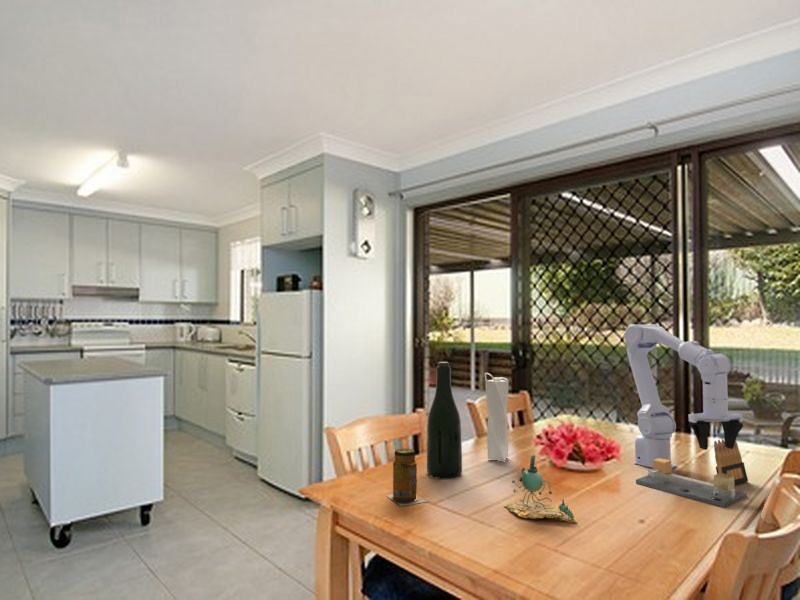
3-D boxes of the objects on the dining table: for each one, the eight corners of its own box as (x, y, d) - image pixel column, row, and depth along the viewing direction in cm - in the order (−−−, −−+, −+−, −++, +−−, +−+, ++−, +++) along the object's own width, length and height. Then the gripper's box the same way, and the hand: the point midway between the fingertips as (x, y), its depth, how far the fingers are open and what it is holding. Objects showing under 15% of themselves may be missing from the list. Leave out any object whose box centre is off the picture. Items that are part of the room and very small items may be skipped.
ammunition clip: (726, 487, 132) (716, 441, 134) (719, 486, 133) (709, 440, 136) (748, 481, 136) (738, 436, 139) (741, 480, 138) (731, 436, 140)
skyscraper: (482, 460, 158) (481, 373, 160) (487, 455, 165) (486, 371, 166) (507, 463, 155) (506, 374, 156) (511, 457, 162) (510, 372, 163)
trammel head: (647, 477, 135) (646, 462, 135) (660, 472, 139) (659, 458, 139) (658, 480, 132) (658, 464, 133) (671, 475, 136) (671, 460, 136)
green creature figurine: (562, 533, 104) (553, 462, 106) (493, 519, 117) (486, 455, 119) (583, 520, 111) (575, 453, 113) (516, 507, 124) (509, 447, 126)
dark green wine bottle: (450, 466, 152) (449, 359, 153) (469, 476, 143) (468, 362, 144) (420, 471, 147) (419, 361, 149) (437, 481, 138) (436, 363, 139)
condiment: (411, 491, 130) (410, 446, 131) (426, 502, 123) (426, 453, 123) (385, 496, 127) (385, 449, 128) (400, 507, 119) (400, 457, 120)
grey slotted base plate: (635, 483, 136) (635, 461, 136) (660, 474, 143) (659, 454, 144) (724, 507, 118) (723, 483, 118) (746, 496, 125) (746, 473, 126)
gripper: (700, 401, 130) (702, 453, 129) (751, 400, 131) (752, 451, 131) (682, 396, 137) (684, 446, 136) (731, 395, 138) (732, 444, 138)
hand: (716, 448), depth 134 cm, fingers open, 7 cm apart
